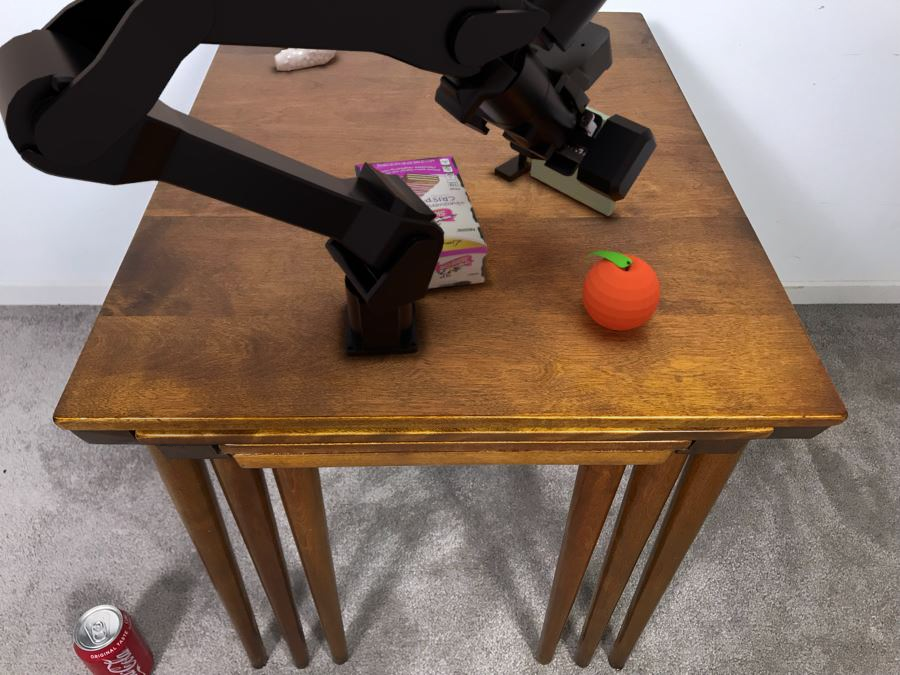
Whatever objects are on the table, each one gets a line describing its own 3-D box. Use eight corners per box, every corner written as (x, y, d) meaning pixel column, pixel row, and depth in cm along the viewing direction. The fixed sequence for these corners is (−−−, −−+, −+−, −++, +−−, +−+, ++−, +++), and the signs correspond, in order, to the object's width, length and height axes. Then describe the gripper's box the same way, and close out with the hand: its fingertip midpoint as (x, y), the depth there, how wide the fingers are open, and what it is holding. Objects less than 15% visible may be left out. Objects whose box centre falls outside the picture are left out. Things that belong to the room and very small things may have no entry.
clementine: (553, 313, 68) (563, 254, 63) (597, 280, 71) (610, 222, 66) (622, 357, 64) (638, 299, 59) (665, 320, 67) (684, 262, 62)
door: (608, 216, 78) (626, 129, 71) (530, 175, 84) (539, 90, 76) (615, 211, 79) (635, 124, 71) (537, 170, 84) (548, 86, 77)
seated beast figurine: (287, 43, 108) (274, -42, 99) (343, 45, 108) (336, -40, 99) (273, 72, 101) (259, -17, 93) (334, 74, 101) (325, -15, 93)
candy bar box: (453, 151, 78) (490, 244, 67) (451, 190, 82) (487, 284, 71) (351, 161, 76) (372, 258, 65) (354, 200, 80) (374, 298, 69)
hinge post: (513, 184, 83) (523, 86, 74) (494, 174, 84) (501, 76, 76) (546, 165, 86) (559, 68, 77) (527, 155, 87) (537, 59, 79)
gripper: (672, 34, 51) (710, 121, 65) (482, -34, 60) (549, 55, 74) (589, 171, 53) (642, 228, 66) (415, 85, 62) (493, 150, 75)
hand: (580, 159), depth 70 cm, fingers closed
